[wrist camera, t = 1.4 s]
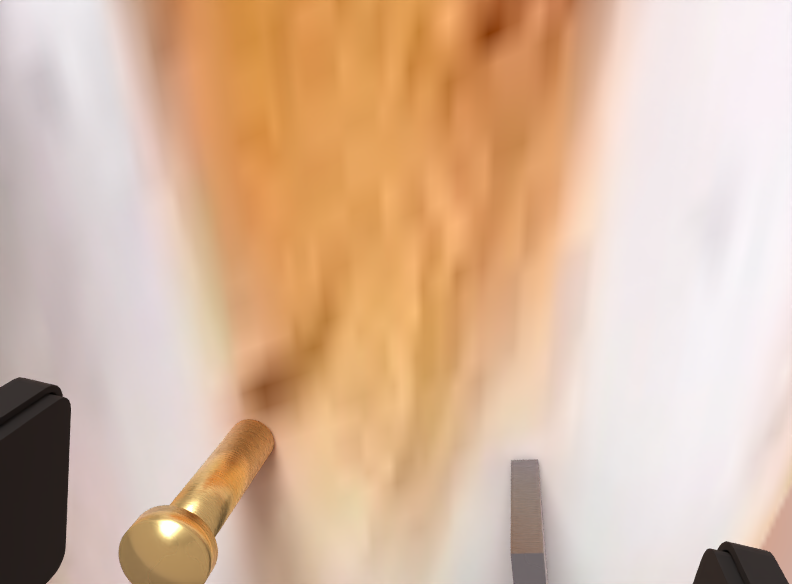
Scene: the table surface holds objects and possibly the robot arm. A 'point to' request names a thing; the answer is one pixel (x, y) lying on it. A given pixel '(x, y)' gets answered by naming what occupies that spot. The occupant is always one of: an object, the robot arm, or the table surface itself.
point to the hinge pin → (195, 513)
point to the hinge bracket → (527, 524)
